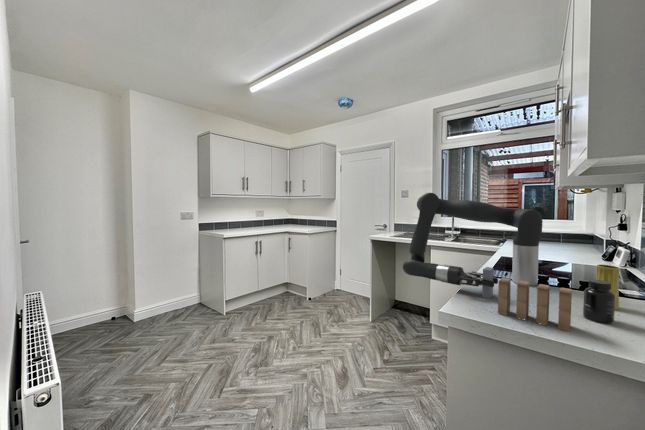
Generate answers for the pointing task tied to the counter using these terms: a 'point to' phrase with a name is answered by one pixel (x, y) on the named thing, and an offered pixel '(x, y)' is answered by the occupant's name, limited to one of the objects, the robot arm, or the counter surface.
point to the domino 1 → (487, 275)
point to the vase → (610, 279)
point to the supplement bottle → (599, 302)
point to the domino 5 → (564, 308)
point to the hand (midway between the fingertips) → (495, 282)
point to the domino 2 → (504, 296)
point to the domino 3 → (522, 300)
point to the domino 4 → (543, 304)
